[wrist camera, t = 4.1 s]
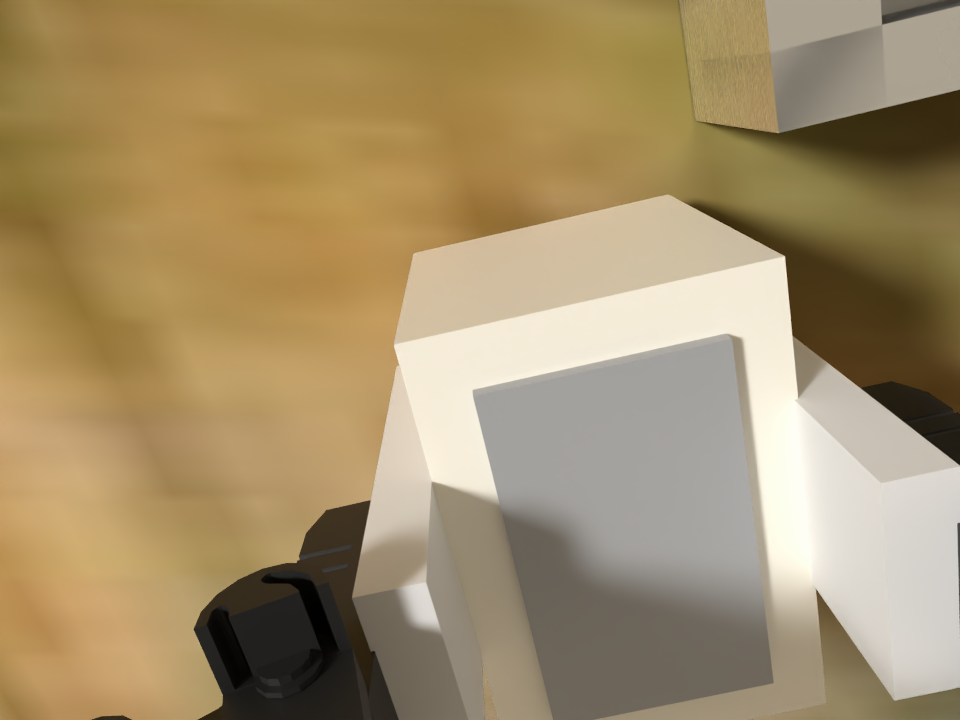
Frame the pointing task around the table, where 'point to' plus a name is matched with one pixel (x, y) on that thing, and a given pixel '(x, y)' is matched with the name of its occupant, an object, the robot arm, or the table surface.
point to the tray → (816, 58)
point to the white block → (619, 464)
